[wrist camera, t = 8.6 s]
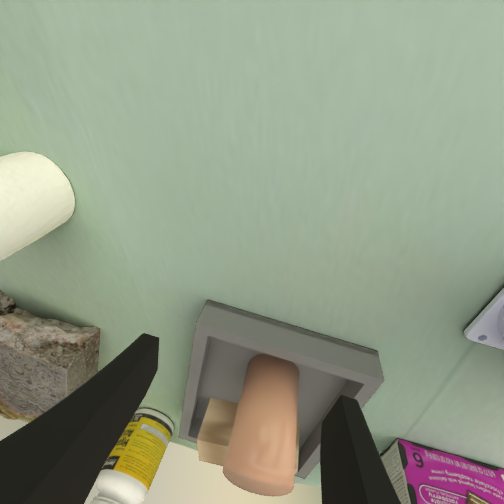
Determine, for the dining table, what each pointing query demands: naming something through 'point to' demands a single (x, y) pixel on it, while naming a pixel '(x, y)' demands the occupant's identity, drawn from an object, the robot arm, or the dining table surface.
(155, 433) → the supplement bottle
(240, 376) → the tray
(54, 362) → the geological specimen
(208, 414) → the beech block
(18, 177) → the white sack
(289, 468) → the flesh-toned capsule
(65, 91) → the dining table surface
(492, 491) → the candy bar box
